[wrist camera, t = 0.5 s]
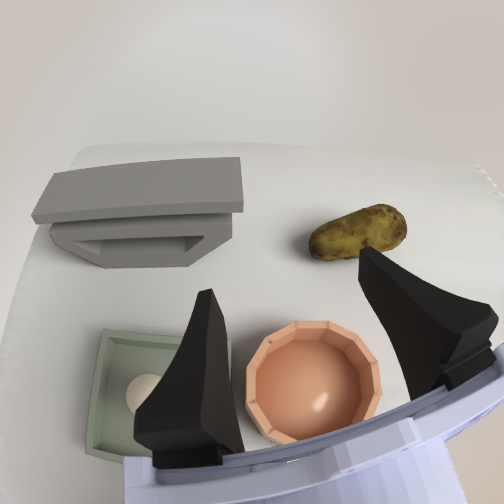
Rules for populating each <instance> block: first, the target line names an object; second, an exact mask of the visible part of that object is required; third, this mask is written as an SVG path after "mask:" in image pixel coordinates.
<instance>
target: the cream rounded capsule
mask: <svg viewBox="0 0 504 504" xmlns="http://www.w3.org/2000/svg"><path fill="white" fill-rule="evenodd" d="M160 379H161V377H160V376H157V375H154V374H144V375H140V376H138V377H136V378H135V379H134V380H133V381H132V382H131V383H130V384H129V386H128V388H127V392H126V401H127V404H128V407H129V409H130V410H131V411H132V413H133V414H134V415H135V410H136V409H137V408H138V407H139V406H140V405H141V404H142V403H143V401H144V400H145V399H146V398H147V397H148V396H149V394H150V393H151V392H152V390H153V389H154V388H155V386H156V385H157V384H158V382H159V381H160Z"/></svg>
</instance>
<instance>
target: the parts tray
mask: <svg viewBox="0 0 504 504" xmlns="http://www.w3.org/2000/svg"><path fill="white" fill-rule="evenodd" d="M182 339H183V337H174V336H161V335H151V334H140V333H131V332H122V331H114V330H106V329H103V332H102V337H101V342H100V347H99V352H98V357H97V362H96V368H95V373H94V379H93V386H92V392H91V399H90V407H89V415H88V424H87V434H86V445H85V454H88V455H92V456H95V457H99V458H102V459H106V460H110V461H114V462H118V463H122V464H123V463H124V457H125V456H148V457H152V451H151V450H149V449H147V448H145V447H144V446H142V445H140V444H138V443H137V442H136V441H135V440H134V438H133V428H134V417H135V415H134V414H133V413H132V411H131V410H130V409H129V407H128V404H127V401H126V392H127V388H128V386H129V384H130V383H131V382H132V381H133V380H134V379H135V378H136V377H138V376H140V375H144V374H154V375H157V376H160V377H161V378H162V376H163V375H164V373H165V372H166V370H167V368H168V367H169V365H170V363H171V362H172V360H173V358H174V356H175V354H176V352H177V350H178V348H179V346H180V344H181V341H182ZM227 344H228V361H229V376H230V384H231V358H232V340H227Z"/></svg>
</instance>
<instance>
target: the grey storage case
mask: <svg viewBox="0 0 504 504" xmlns="http://www.w3.org/2000/svg"><path fill="white" fill-rule="evenodd" d="M243 202H244V201H243V189H242V177H241V166H240V157H223V158H195V159H176V160H161V161H149V162H138V163H127V164H118V165H109V166H101V167H94V168H86V169H79V170H73V171H66V172H60V173H54V175H53V176H52V178H51V180H50V181H49V183H48V185H47V187H46V188H45V190H44V192H43V194H42V196H41V197H40V199H39V201H38V203H37V205H36V207H35V209H34V211H33V213H32V215H31V216H32V218H33V220H34V221H35V223H36V224H45V223H53V224H52V227H51V229H50V231H49V235H50V237H51V238H52V240H53V241H54V243H55V245H57V246H59V247H61V248H63V249H65V250H67V251H69V252H71V253H73V254H76V255H78V256H80V257H82V258H84V259H86V260H88V261H90V262H92V263H95V264H97V265H99V266H101V267H103V268H106V269H107V268H156V267H188V266H190V265H191V264H193V263H194V262H196V261H197V260H199V259H200V258H202V257H203V256H205V255H206V254H208V253H209V252H211V251H212V250H214V249H215V248H217V247H218V246H220V245H221V244H223V243H225V242H226V241H228V240H229V239H231V238H232V213H235V212H243Z"/></svg>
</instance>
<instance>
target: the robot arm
mask: <svg viewBox="0 0 504 504" xmlns="http://www.w3.org/2000/svg"><path fill="white" fill-rule="evenodd" d="M358 281H359V283H360V285H361V288H362V290H363V292H364V294H365V297H366V298H367V300H368V302H369V303H370V305H371V307H372V308H373V310H374V312H375V313H376V315H377V317H378V319H379V320H380V322H381V324H382V325H383V327H384V329H385V330H386V332H387V334H388V336H389V338H390V341H391V343H392V345H393V348H394V350H395V353H396V355H397V358H398V361H399V363H400V366H401V369H402V372H403V375H404V378H405V381H406V385H407V388H408V392H409V396H410V399H411V401H410V402H408V403H406V404H404V405H402V406H399V407H397V408H395V409H392V410H390V411H388V412H385V413H383V414H380V415H378V416H375V417H373V418H370V419H367V420H365V421H362V422H359V423H356V424H354V425H351V426H348V427H345V428H342V429H339V430H336V431H332V432H329V433H326V434H323V435H319V436H316V437H312V438H308V439H305V440H301V441H297V442H293V443H289V444H284V445H280V446H276V447H271V448H266V449H261V450H255V451H250V452H245V449H244V445H243V441H242V437H241V433H240V429H239V425H238V420H237V416H236V411H235V406H234V401H233V395H232V390H231V384H230V376H229V361H228V344H227V333H226V327H225V321H224V316H223V314H222V312H221V309H220V307H219V304H218V302H217V300H216V297H215V295H214V292H213V290H212V288H211V289H207V290H203V291H199V293H198V295H197V299H196V302H195V306H194V309H193V312H192V315H191V318H190V321H189V324H188V327H187V329H186V332H185V334H184V336H183V339H182V341H181V344H180V346H179V348H178V350H177V352H176V354H175V356H174V358H173V360H172V362H171V363H170V365H169V367H168V368H167V370H166V372H165V373H164V375H163V376H162V378H161V379H160V381H159V382H158V384H157V385H156V386H155V388H154V389H153V390H152V392H151V393H150V394H149V396H148V397H147V398H146V399H145V400H144V401H143V403H142V404H141V405H140V406H139V407H138V408H137V409H136V410H135V417H134V428H133V438H134V440H135V441H136V442H137V443H138V444H140V445H142V446H144V447H145V448H147V449H149V450H151V451H152V457H148V456H125V457H124V463H123V482H124V504H468V503H467V500H466V498H465V495H464V492H463V489H462V486H461V483H460V481H459V478H458V475H457V472H456V470H455V468H454V465H453V462H452V460H451V457H450V455H449V452H448V450H447V447H446V445H445V442H447V441H448V440H450V439H452V438H453V437H455V436H457V435H458V434H460V433H461V432H463V431H464V430H466V429H467V428H469V427H470V426H472V425H473V424H475V423H476V422H477V421H479V420H480V419H482V418H483V417H485V416H486V415H487V414H489V413H490V412H491V411H493V410H494V409H495V408H497V407H498V406H499V405H501V404H502V403H503V402H504V343H502V344H501V345H499V346H498V347H497V348H496V349H495V350H494V351H493V352H492V350H491V349H490V347H491V345H492V343H491V342H490V340H489V338H490V336H491V335H492V333H493V331H494V330H495V328H496V326H497V324H498V320H499V318H498V316H497V314H496V313H495V312H494V310H493V309H492V308H491V306H490V305H489V304H486V303H481V302H477V301H473V300H469V299H466V298H463V297H460V296H457V295H454V294H452V293H449V292H447V291H444V290H442V289H440V288H438V287H436V286H434V285H432V284H430V283H428V282H426V281H424V280H422V279H420V278H418V277H417V276H415V275H413V274H412V273H410V272H408V271H407V270H405V269H404V268H402V267H401V266H399V265H398V264H396V263H395V262H393V261H392V260H390V259H389V258H387V257H386V256H384V255H383V254H381V253H380V252H379V251H377V250H376V249H374V248H373V247H371V246H370V247H366V248H363V249H360V251H359V274H358ZM311 455H312V456H311ZM308 456H309V457H308ZM304 457H305V458H304ZM300 458H302V459H300ZM296 459H299V460H296ZM291 460H296V461H293V462H289V463H287V461H291Z"/></svg>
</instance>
